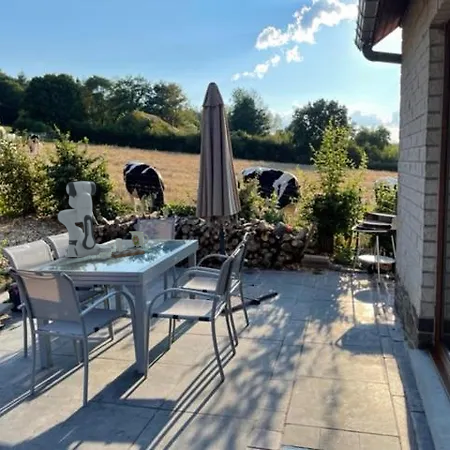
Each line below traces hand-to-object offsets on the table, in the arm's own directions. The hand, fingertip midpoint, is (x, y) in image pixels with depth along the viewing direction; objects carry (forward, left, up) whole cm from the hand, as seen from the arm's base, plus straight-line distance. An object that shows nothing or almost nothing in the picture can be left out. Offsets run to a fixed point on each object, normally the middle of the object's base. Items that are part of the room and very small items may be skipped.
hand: (112, 247), depth 376 cm
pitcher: (-33, +37, -8) cm, 50 cm away
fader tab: (0, +6, -6) cm, 8 cm away
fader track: (0, +13, -8) cm, 15 cm away
